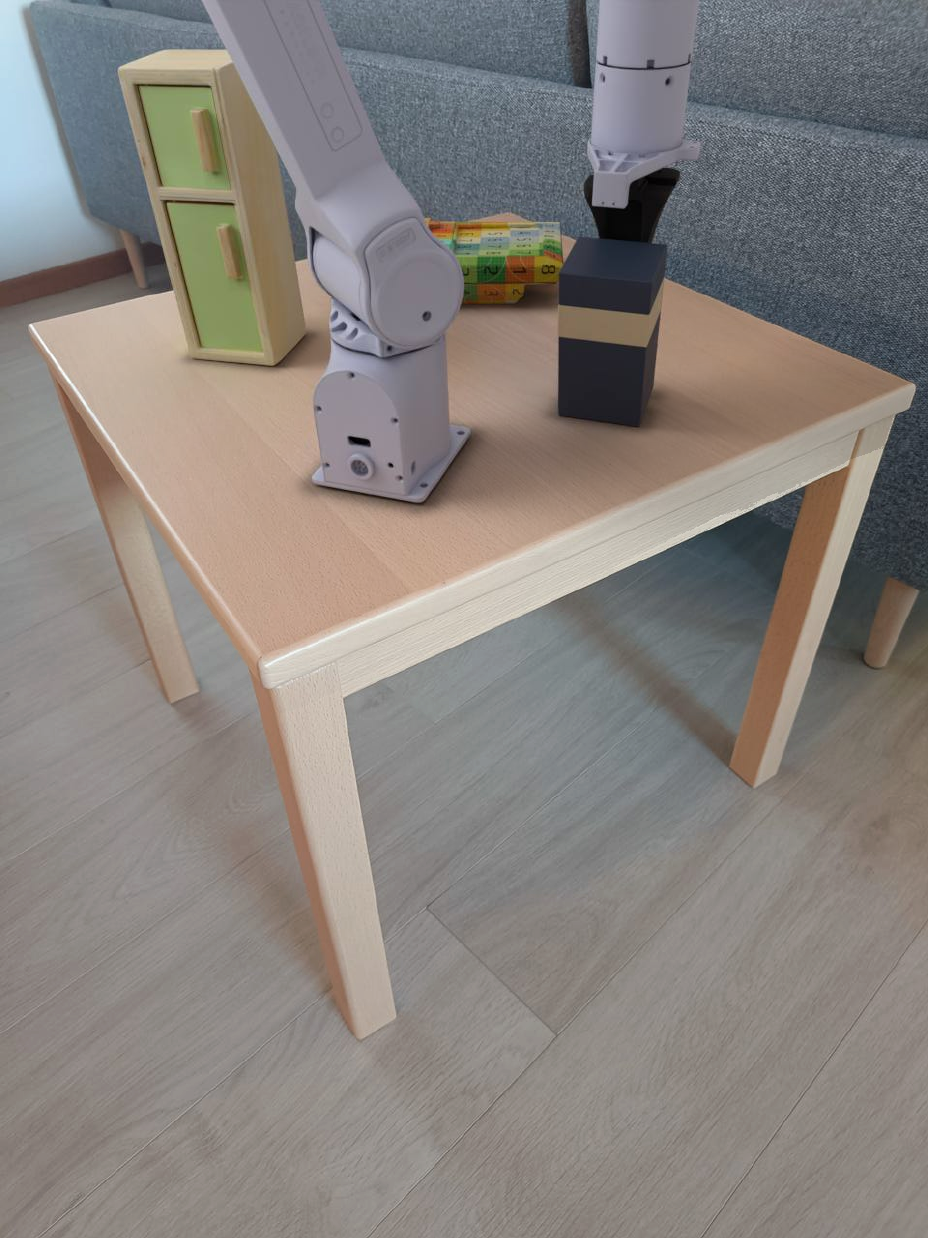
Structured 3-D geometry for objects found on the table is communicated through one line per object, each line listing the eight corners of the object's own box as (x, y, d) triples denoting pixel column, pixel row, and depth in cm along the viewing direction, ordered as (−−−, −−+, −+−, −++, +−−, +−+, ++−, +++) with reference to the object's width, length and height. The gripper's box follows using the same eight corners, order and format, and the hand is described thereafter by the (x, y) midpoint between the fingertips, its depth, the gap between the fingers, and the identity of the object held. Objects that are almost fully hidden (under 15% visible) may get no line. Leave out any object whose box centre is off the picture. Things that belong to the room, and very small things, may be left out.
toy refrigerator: (182, 362, 73) (109, 66, 59) (224, 326, 79) (165, 47, 65) (271, 372, 72) (216, 69, 58) (307, 334, 77) (265, 49, 63)
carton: (639, 427, 63) (652, 282, 55) (557, 415, 65) (557, 272, 57) (653, 386, 66) (668, 243, 58) (574, 376, 68) (578, 235, 60)
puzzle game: (353, 214, 86) (560, 212, 85) (358, 263, 89) (558, 262, 88) (333, 257, 78) (564, 255, 76) (339, 310, 81) (561, 309, 79)
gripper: (691, 88, 47) (661, 333, 56) (726, 41, 58) (696, 255, 67) (563, 82, 49) (553, 321, 58) (619, 38, 60) (603, 247, 69)
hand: (622, 285), depth 63 cm, fingers closed
